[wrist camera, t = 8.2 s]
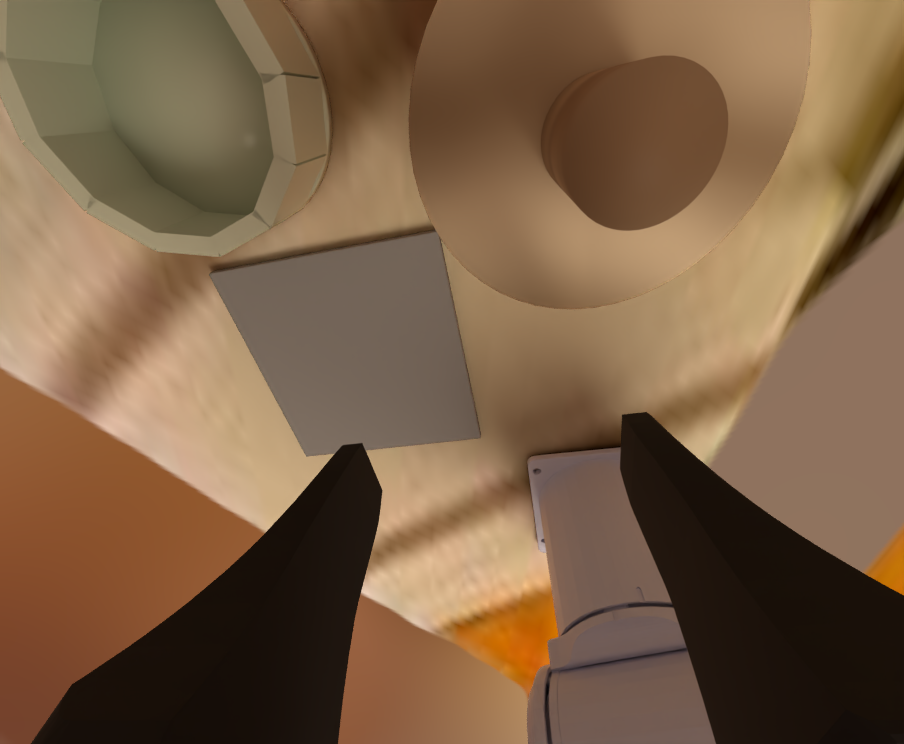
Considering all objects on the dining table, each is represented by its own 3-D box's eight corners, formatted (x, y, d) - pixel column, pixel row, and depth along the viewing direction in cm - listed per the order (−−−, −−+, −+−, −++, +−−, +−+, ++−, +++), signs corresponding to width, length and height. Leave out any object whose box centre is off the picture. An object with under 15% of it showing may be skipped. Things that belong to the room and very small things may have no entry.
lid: (716, 294, 15) (810, 371, 10) (428, 301, 15) (409, 375, 11) (864, -156, 9) (1202, -379, 5) (392, -108, 10) (327, -265, 6)
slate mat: (480, 433, 24) (480, 438, 24) (308, 451, 26) (306, 456, 26) (438, 229, 18) (437, 231, 17) (213, 271, 19) (208, 274, 19)
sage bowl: (375, 168, 17) (350, 185, 13) (213, 259, 19) (158, 293, 16) (218, -131, 12) (122, -217, 9) (37, 39, 15) (-91, 21, 12)
